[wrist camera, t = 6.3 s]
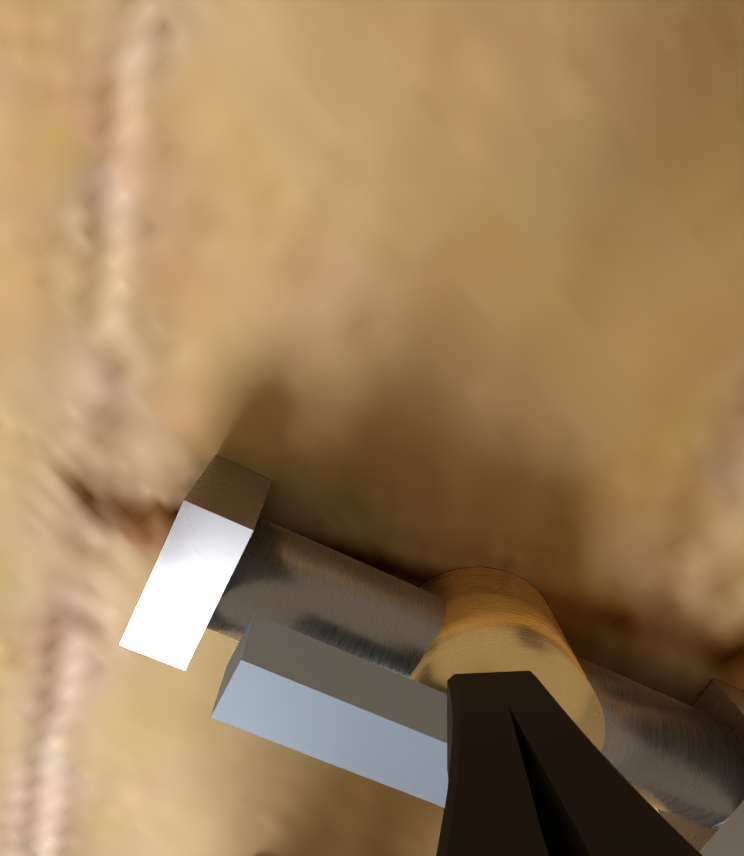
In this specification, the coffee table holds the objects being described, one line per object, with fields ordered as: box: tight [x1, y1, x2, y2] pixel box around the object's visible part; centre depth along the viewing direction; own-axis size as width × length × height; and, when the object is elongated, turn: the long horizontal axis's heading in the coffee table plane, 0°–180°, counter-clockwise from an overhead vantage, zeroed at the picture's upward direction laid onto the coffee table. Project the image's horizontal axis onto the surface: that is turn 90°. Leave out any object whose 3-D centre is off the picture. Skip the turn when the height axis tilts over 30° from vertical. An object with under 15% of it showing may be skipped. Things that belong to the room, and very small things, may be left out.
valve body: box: [119, 456, 744, 856], centre depth 19 cm, size 22×6×4 cm, turn 63°
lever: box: [210, 614, 448, 808], centre depth 15 cm, size 10×3×2 cm, turn 63°
